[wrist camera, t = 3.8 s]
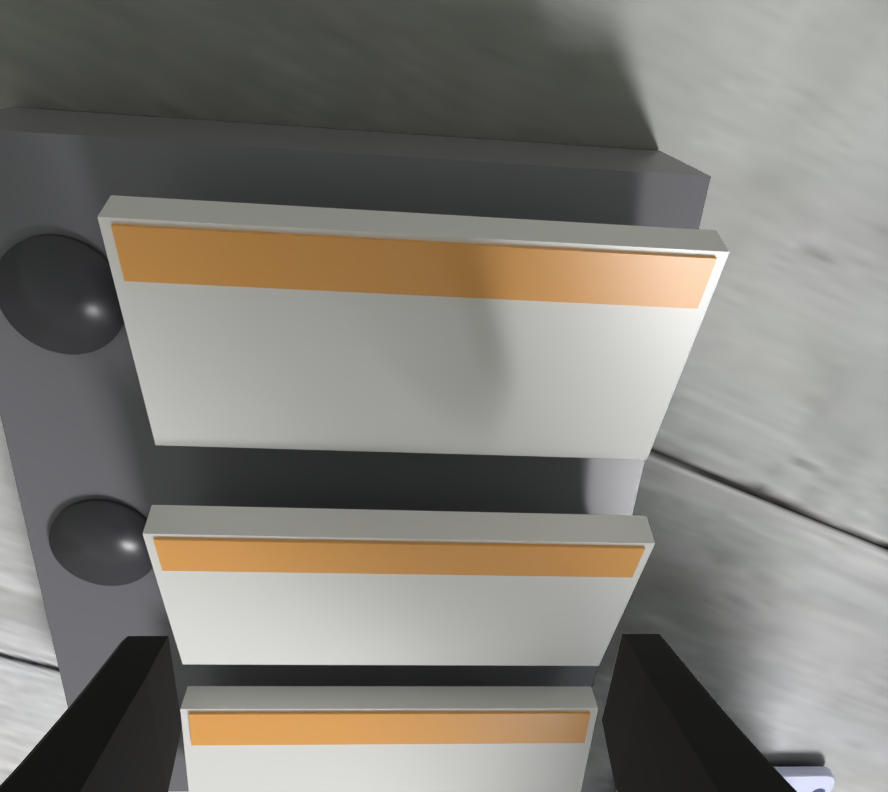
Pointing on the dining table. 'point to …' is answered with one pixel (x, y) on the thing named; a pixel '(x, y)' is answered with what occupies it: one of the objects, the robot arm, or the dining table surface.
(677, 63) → the dining table surface
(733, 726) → the robot arm
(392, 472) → the rocker switch panel
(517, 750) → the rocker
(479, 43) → the dining table surface
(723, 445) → the dining table surface
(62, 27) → the dining table surface
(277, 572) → the rocker middle
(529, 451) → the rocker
